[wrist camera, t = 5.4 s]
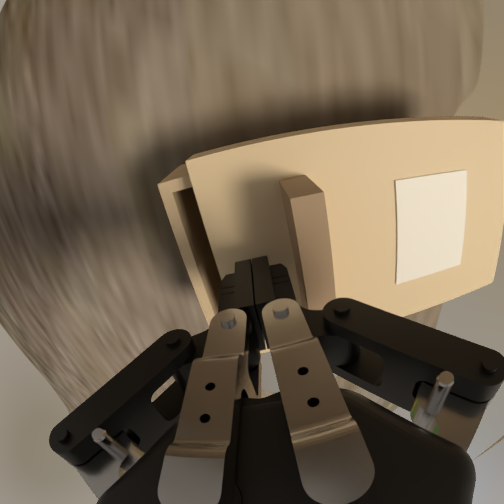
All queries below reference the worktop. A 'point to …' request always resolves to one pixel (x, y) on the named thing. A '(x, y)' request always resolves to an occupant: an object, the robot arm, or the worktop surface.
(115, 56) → the worktop surface
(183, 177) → the box
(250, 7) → the worktop surface
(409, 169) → the lid
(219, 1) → the worktop surface
